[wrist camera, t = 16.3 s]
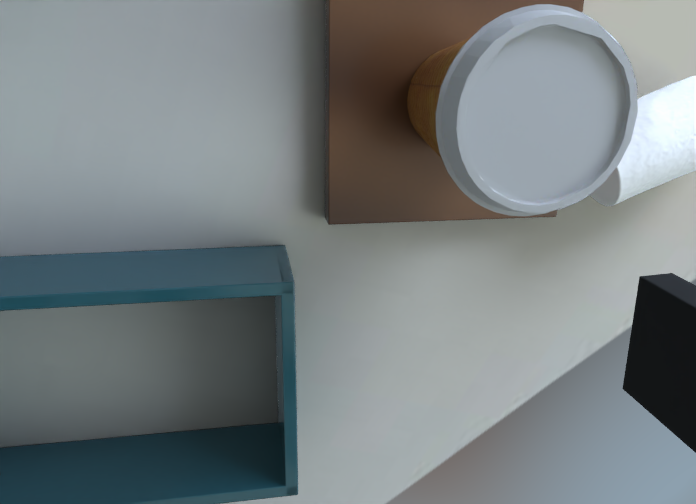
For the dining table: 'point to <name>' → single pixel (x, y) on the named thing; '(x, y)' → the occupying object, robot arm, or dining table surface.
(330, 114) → the board
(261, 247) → the teal open box
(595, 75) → the disposable coffee cup
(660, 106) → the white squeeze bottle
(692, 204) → the dining table surface
